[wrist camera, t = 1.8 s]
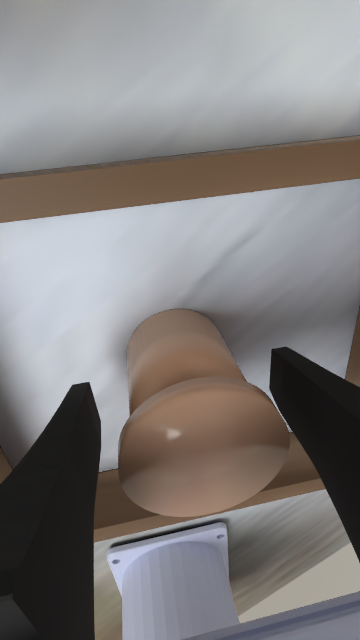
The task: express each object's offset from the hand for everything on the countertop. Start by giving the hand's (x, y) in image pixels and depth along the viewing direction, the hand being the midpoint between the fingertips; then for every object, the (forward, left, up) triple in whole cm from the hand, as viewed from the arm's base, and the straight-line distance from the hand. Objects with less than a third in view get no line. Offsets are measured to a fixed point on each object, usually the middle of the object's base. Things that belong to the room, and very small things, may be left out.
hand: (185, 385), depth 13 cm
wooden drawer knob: (0, 0, -3) cm, 3 cm away
